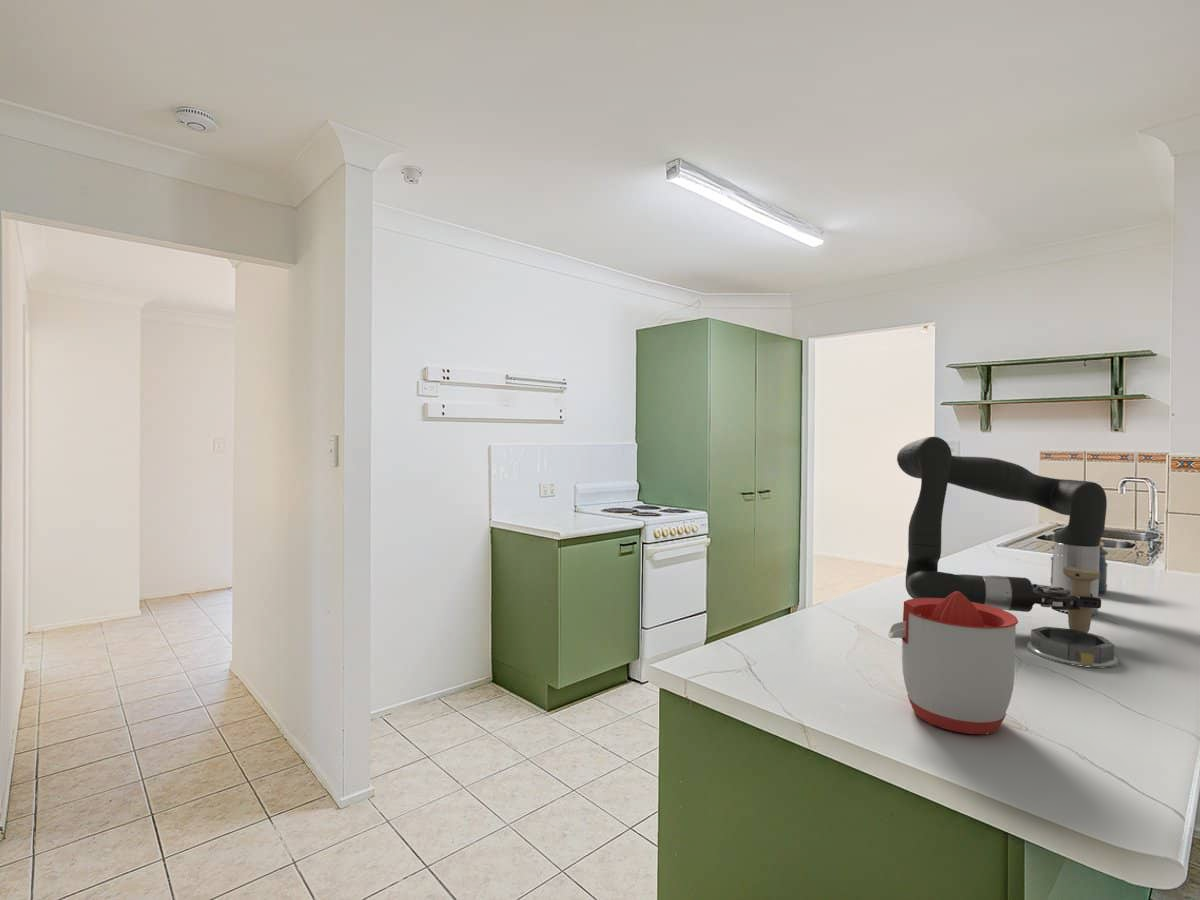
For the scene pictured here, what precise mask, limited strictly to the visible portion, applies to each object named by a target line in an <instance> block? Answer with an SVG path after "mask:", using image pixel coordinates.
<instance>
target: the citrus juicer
mask: <svg viewBox="0 0 1200 900" xmlns="http://www.w3.org/2000/svg"><path fill="white" fill-rule="evenodd" d="M902 612H903V613H902V615H903V616H902V621H899V622H895V623H893V624H892V626H891V627H890V630H889V632H888V638H889V639H902V642H901V643H902V644H901V646H902V647H901V648H902V649H901V666H902V667H901V668H902V669H901V670H902V675H903V681H904V682H903V683H904V685H905V689H906V692H907V698H908V700H909V704H910V705H911V708H912V710H913V713H915V715H916V716H918V718H920V719H921V720H923V721H925V722H928V723H929V724H928V723H927V724H928V725H930V724H932V725H935V726H934V727H937V726H938V727H939V728H942V729H943V730H944V729H945V730H948V731H952V732H956V733H963V734H970V735H984V734H987V733H989V734H993V733H994V732H996V731H998V730H999V728H1000V727H1001V726H1002V723H1003V721H1004V719H1005V718H1006V715H1007V710H1008V708H1009V705H1010V703H1011V699H1012V696H1013V695H1012V694H1013V691H1014V684H1015V673H1016V671H1015V669H1016V667H1015V665H1016V662H1015V661H1016V630H1017V629H1016V628H1017V626H1016V625H1018V623H1019V620H1018V618H1017V616H1015V614H1013V613H1010V612H1009V611H1008V610H1002V609H999V608H995V607H992V606H988V605H984V604H980V603H975V602H970V601H969V600H968V599H967V597H965V596H964V595H963V594H962V593H961V592H959V591H955V592H953V593H951V594H950V595H948V596H947V597H946V598H915V599H913V598H911V599H906V600H904V601H903V611H902ZM932 725H931V726H932ZM987 735H988V734H987Z"/></svg>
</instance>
